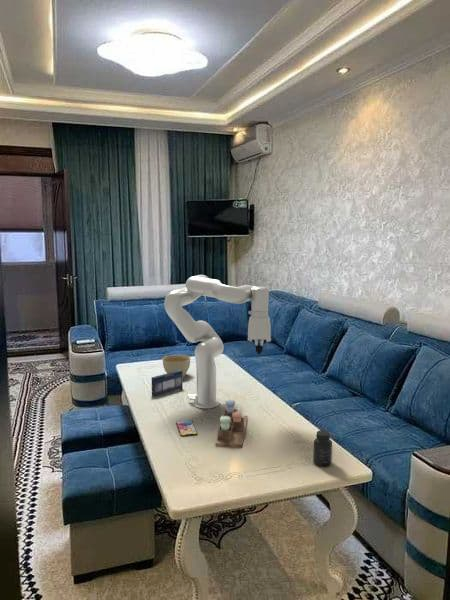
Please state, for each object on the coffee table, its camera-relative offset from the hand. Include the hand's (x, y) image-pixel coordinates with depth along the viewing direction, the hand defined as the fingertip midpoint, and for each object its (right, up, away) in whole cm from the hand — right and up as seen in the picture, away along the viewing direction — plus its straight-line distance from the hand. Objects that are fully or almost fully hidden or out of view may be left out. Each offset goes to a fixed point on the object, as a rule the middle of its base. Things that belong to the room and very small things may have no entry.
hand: (259, 353), depth 219 cm
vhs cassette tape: (-46, -24, +33) cm, 61 cm away
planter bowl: (-43, -20, +58) cm, 75 cm away
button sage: (-15, -30, -23) cm, 41 cm away
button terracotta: (-10, -30, -15) cm, 35 cm away
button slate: (-13, -27, -6) cm, 30 cm away
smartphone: (-32, -32, -12) cm, 47 cm away
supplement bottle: (+21, -36, -41) cm, 59 cm away
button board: (-12, -32, -14) cm, 37 cm away
